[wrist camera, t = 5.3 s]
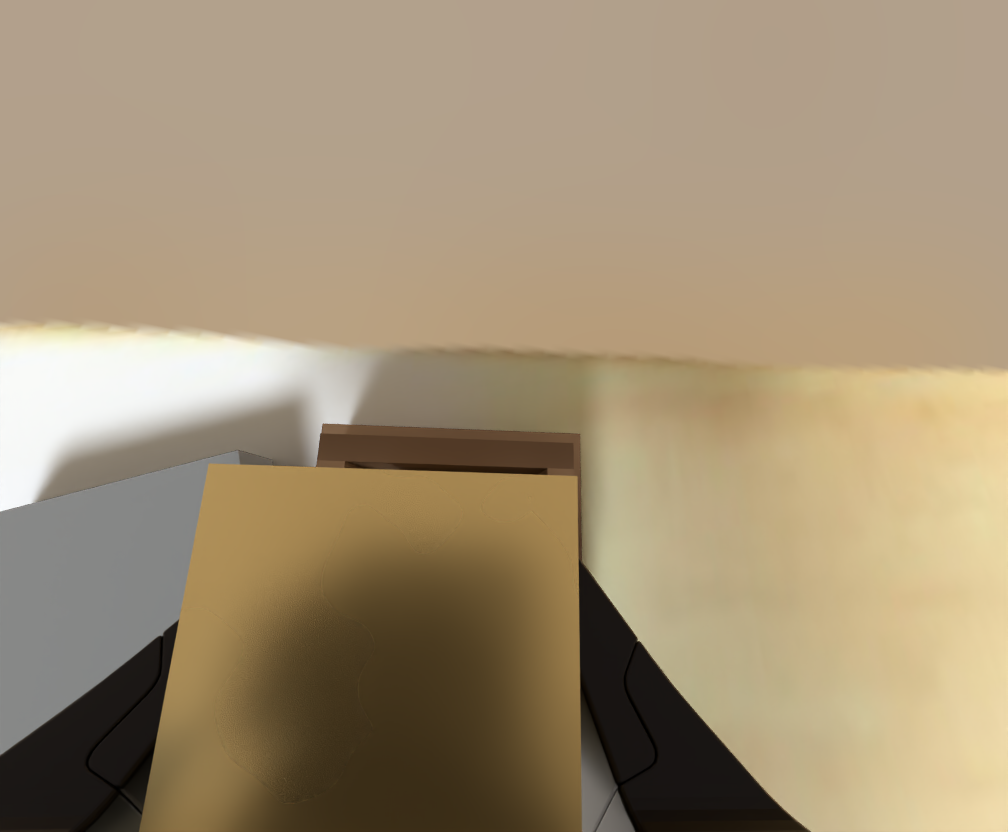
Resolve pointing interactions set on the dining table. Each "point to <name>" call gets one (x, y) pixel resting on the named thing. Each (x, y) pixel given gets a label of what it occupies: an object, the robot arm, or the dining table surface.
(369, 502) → the brass bar
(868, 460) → the dining table surface
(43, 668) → the slate plinth
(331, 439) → the walnut holder
